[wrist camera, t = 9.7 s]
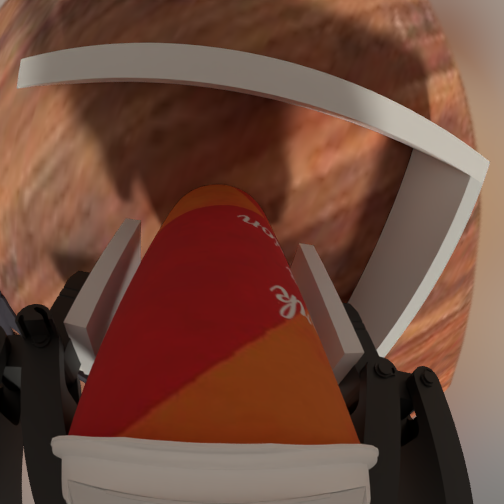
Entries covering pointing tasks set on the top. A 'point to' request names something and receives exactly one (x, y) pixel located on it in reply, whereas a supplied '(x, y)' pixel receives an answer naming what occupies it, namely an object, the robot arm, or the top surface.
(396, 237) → the box
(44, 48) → the top surface
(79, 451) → the paper cup
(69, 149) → the top surface
